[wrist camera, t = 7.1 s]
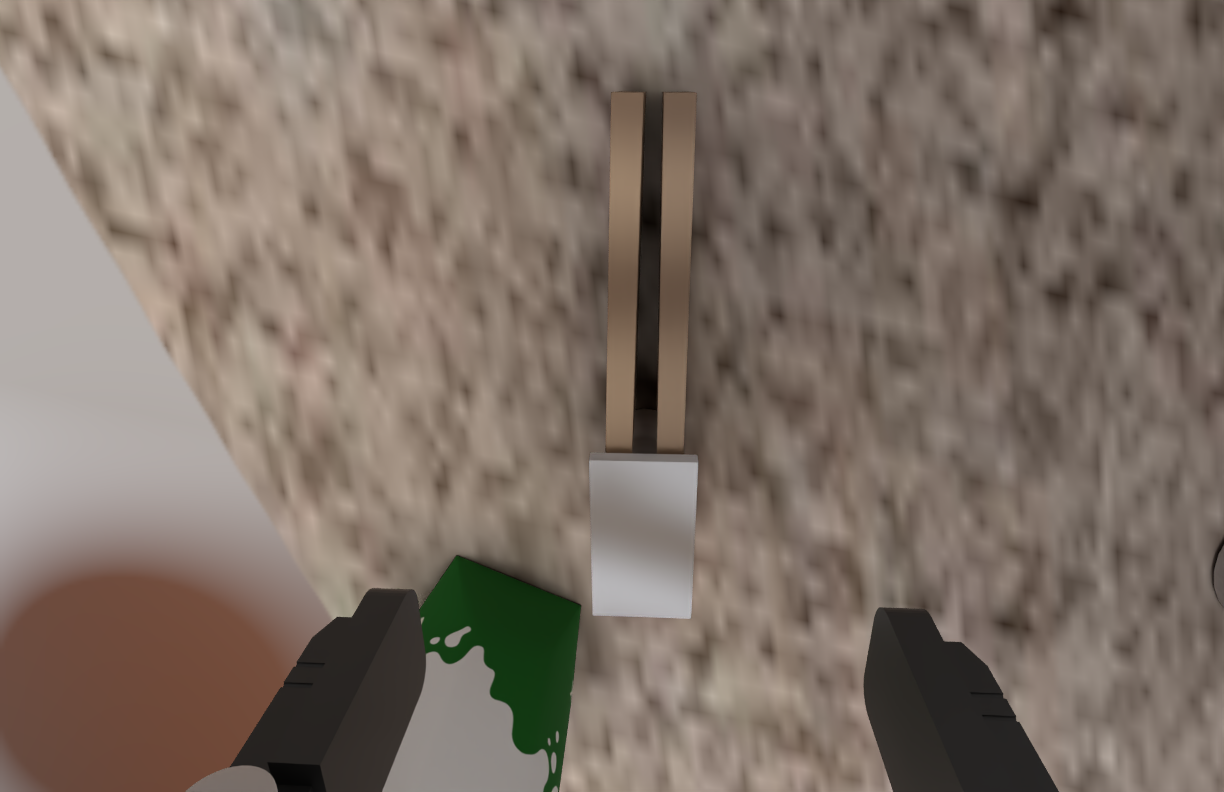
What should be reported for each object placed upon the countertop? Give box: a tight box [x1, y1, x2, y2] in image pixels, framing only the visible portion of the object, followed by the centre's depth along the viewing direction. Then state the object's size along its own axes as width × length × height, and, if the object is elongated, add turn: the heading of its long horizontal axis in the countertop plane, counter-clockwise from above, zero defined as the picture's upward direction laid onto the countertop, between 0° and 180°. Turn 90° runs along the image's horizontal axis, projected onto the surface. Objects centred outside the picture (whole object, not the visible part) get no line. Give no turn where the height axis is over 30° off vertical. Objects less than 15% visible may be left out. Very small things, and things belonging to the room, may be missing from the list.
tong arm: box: [606, 91, 657, 454], centre depth 27 cm, size 16×3×6 cm, turn 179°
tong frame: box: [589, 92, 698, 619], centre depth 28 cm, size 20×4×7 cm, turn 0°
